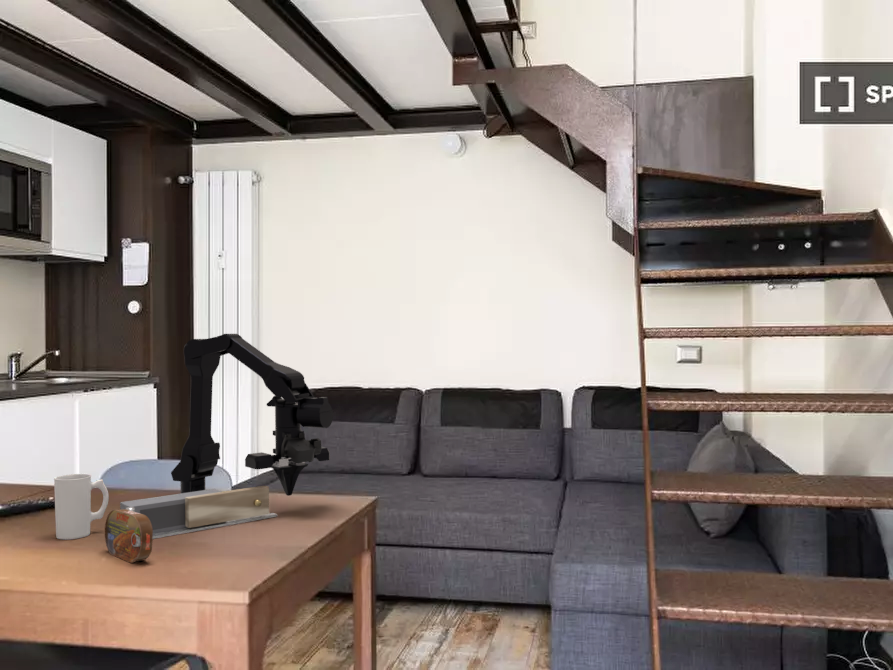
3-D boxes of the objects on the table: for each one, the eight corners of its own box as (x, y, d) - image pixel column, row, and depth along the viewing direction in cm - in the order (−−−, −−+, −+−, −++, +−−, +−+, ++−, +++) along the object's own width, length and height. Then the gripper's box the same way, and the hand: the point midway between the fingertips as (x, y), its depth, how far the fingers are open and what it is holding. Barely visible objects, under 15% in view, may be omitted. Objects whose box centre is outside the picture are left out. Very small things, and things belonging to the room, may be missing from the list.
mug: (55, 541, 149) (54, 481, 149) (54, 534, 155) (53, 475, 155) (110, 535, 154) (109, 476, 154) (107, 527, 160) (107, 471, 160)
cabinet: (120, 534, 155) (120, 502, 155) (214, 517, 168) (214, 488, 168) (130, 539, 150) (130, 507, 150) (226, 523, 163) (225, 492, 163)
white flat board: (125, 541, 149) (124, 507, 149) (273, 514, 170) (272, 485, 170) (128, 543, 148) (128, 509, 148) (277, 516, 168) (277, 486, 168)
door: (185, 526, 157) (185, 497, 157) (264, 512, 169) (264, 485, 169) (191, 528, 155) (190, 499, 155) (271, 514, 166) (270, 487, 166)
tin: (103, 551, 143) (102, 506, 143) (119, 548, 145) (119, 504, 145) (139, 567, 132) (138, 519, 132) (156, 563, 134) (155, 516, 134)
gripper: (267, 433, 159) (267, 507, 159) (342, 425, 171) (343, 494, 171) (243, 428, 168) (244, 499, 168) (317, 422, 180) (317, 487, 180)
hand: (288, 495), depth 171 cm, fingers closed
